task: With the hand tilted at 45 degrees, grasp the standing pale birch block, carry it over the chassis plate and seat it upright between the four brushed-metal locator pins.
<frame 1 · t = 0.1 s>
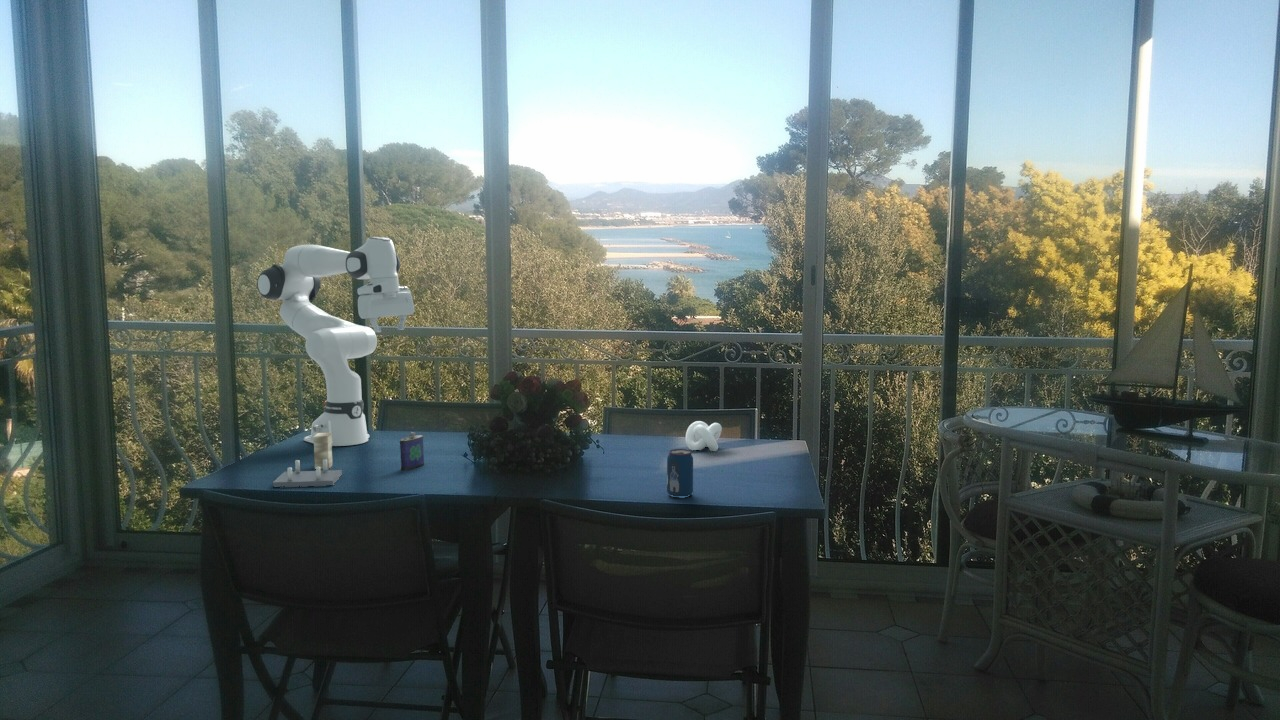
hand: (389, 331, 294), 39 cm above the table, tool pointing down, fingers open, 8 cm apart
soda can: (679, 496, 246), on the table
pretzel: (702, 450, 300), on the table
birch block: (323, 467, 276), on the table
flask: (413, 467, 277), on the table
chassis plate: (308, 481, 260), on the table
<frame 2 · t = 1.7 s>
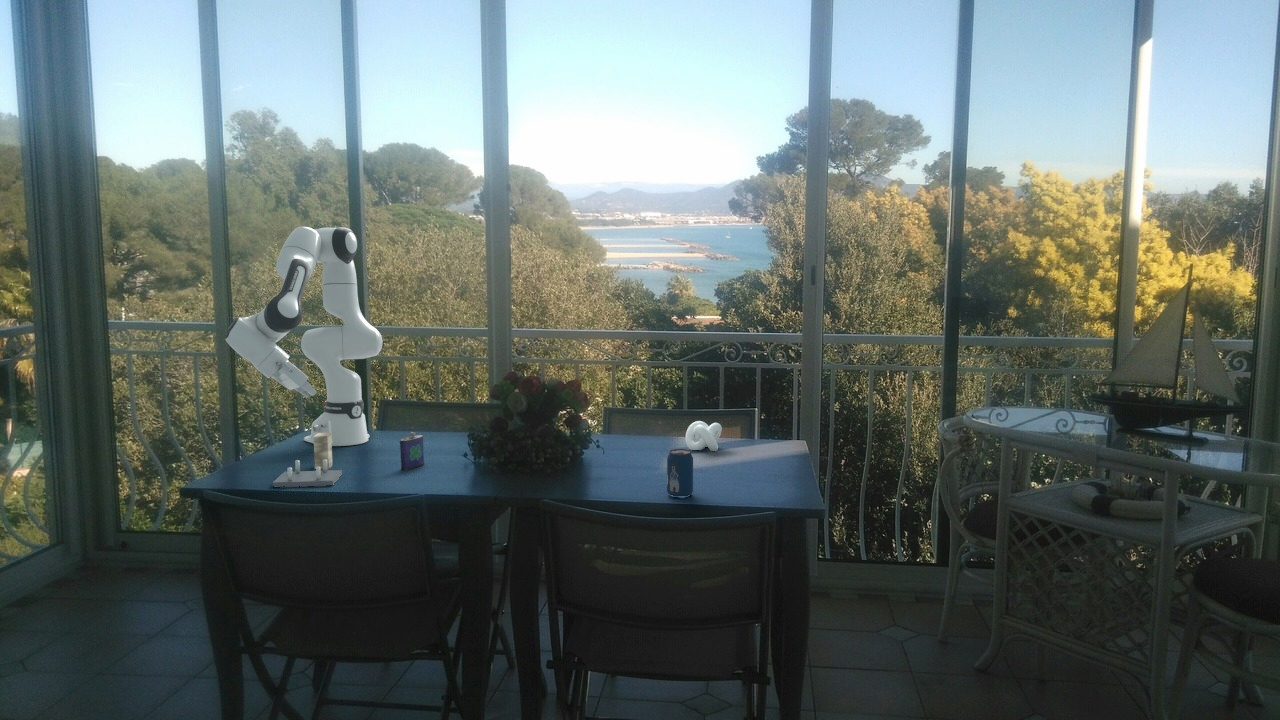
hand: (312, 394, 272), 22 cm above the table, tool tilted 45°, fingers open, 8 cm apart
nothing on the table moved.
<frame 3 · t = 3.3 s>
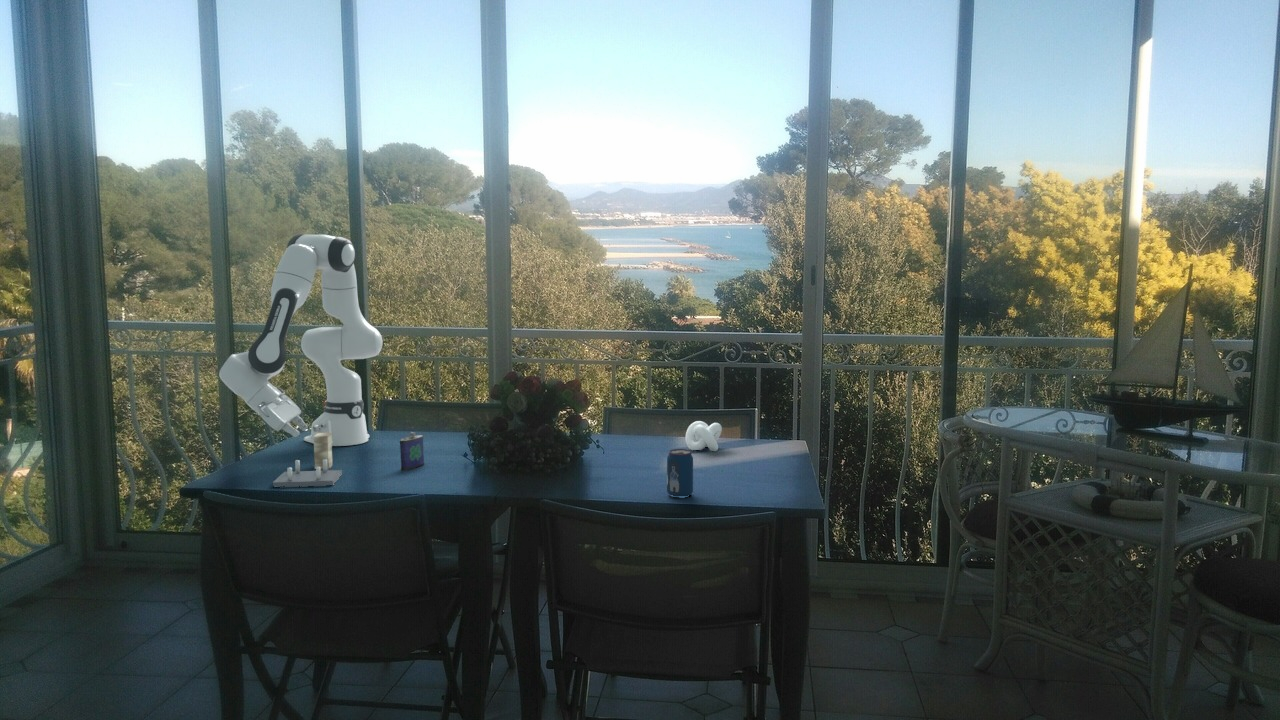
hand: (302, 432, 274), 11 cm above the table, tool tilted 45°, fingers open, 8 cm apart
nothing on the table moved.
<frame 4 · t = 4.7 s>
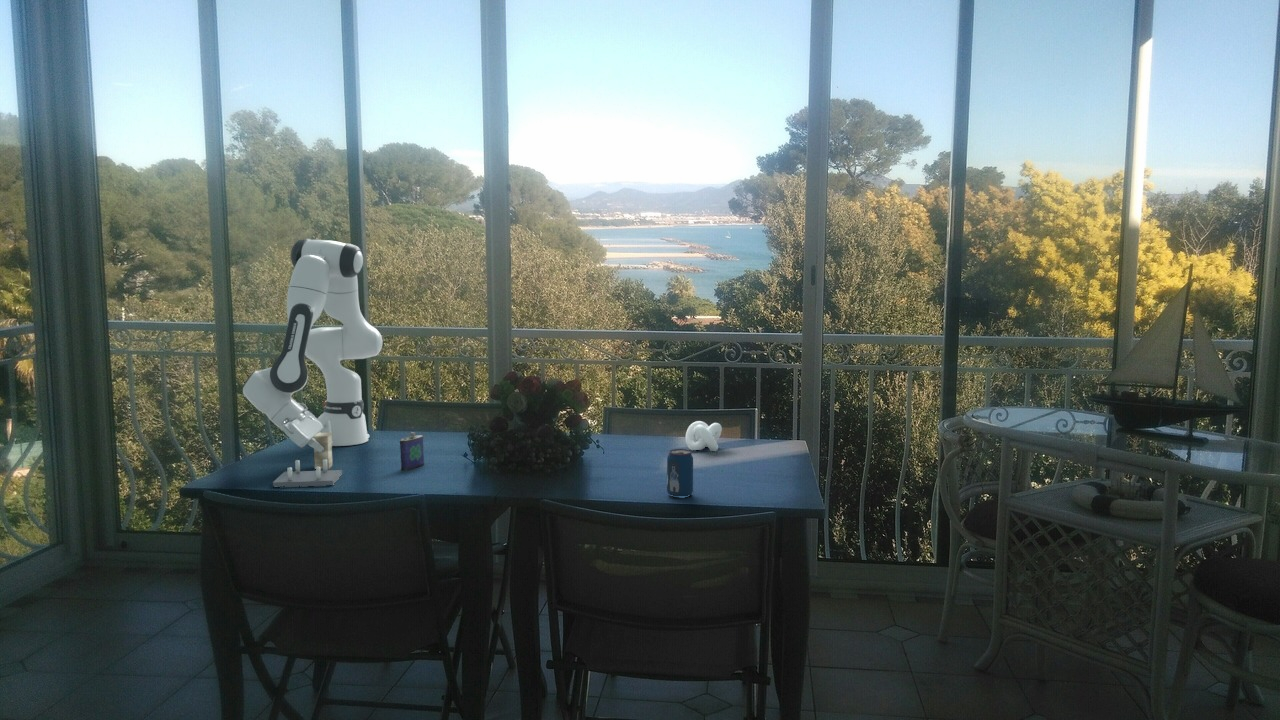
hand: (325, 447, 276), 6 cm above the table, tool tilted 45°, fingers closed on birch block, 5 cm apart
birch block: (323, 467, 276), on the table, touching gripper
everything else where it was.
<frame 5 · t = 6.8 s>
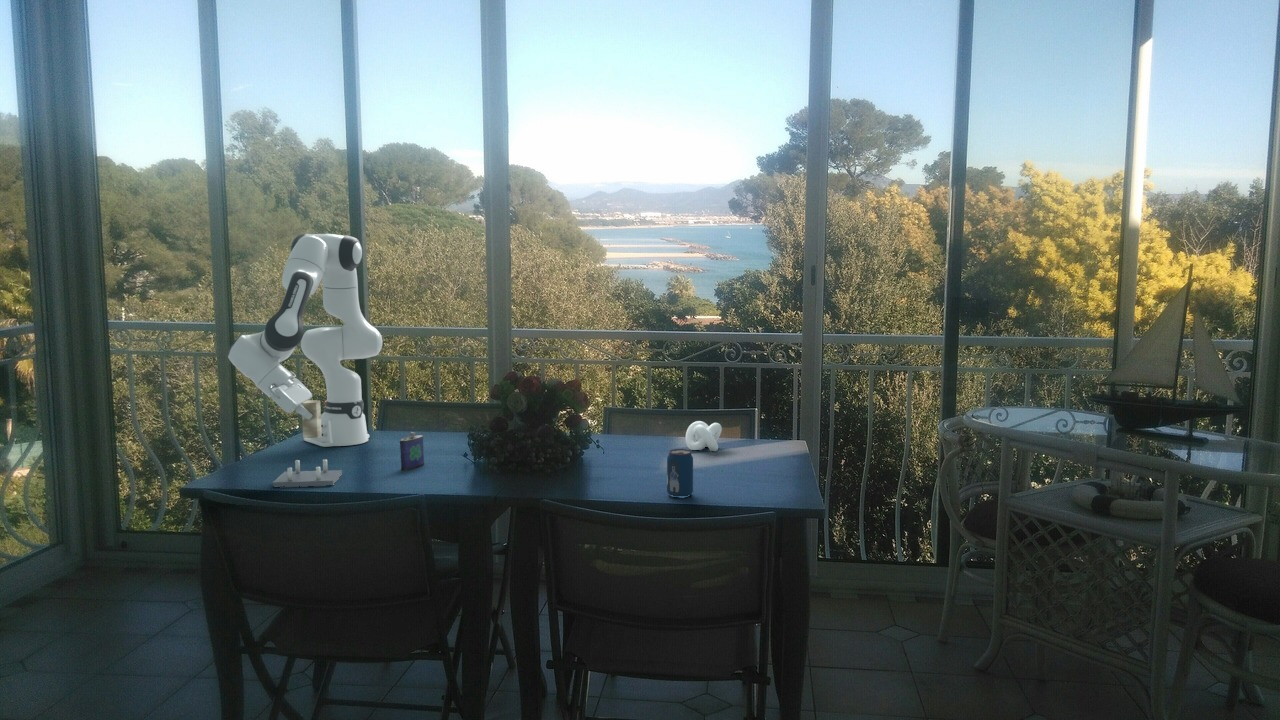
hand: (313, 415, 264), 18 cm above the table, tool tilted 45°, fingers closed on birch block, 5 cm apart
birch block: (312, 436, 265), point 12 cm above the table, touching gripper
everything else where it was.
when the fingers open (9 cm above the table, at t = 9.1 s): birch block drops 1 cm, resting on chassis plate.
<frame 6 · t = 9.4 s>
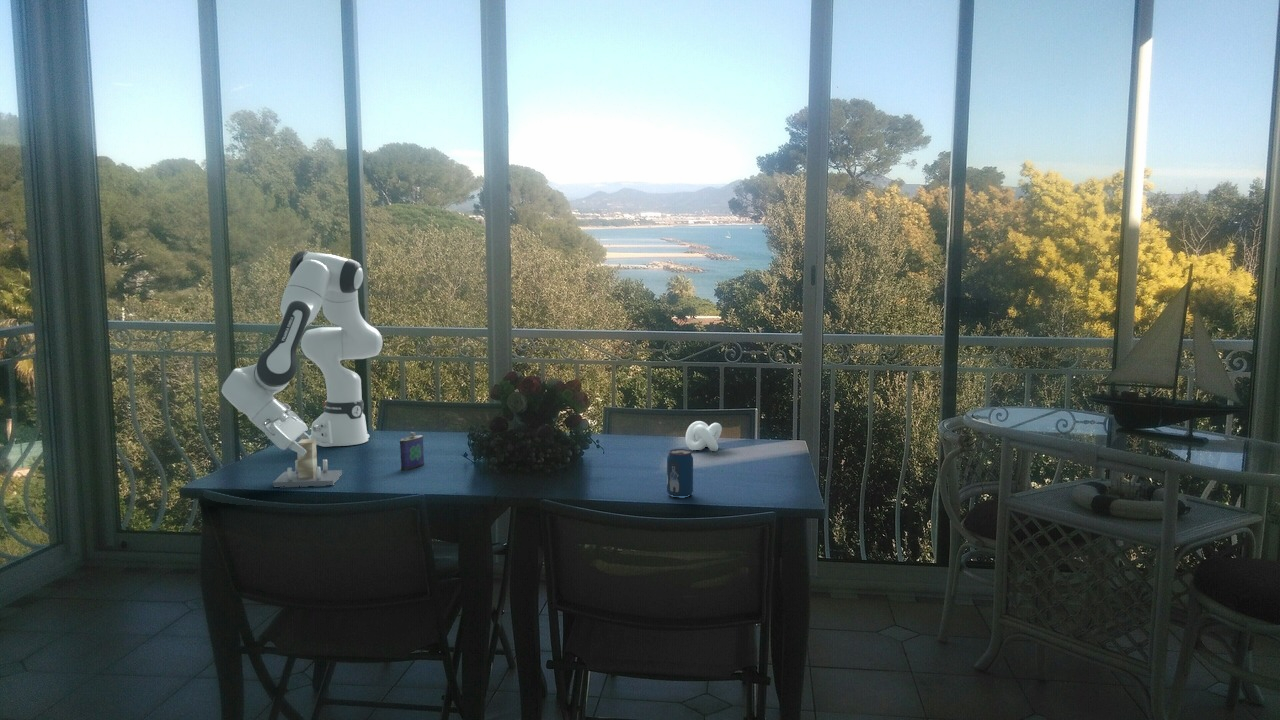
hand: (309, 450, 259), 9 cm above the table, tool tilted 45°, fingers open, 8 cm apart
birch block: (308, 475, 260), point 1 cm above the table, touching chassis plate
everything else where it was.
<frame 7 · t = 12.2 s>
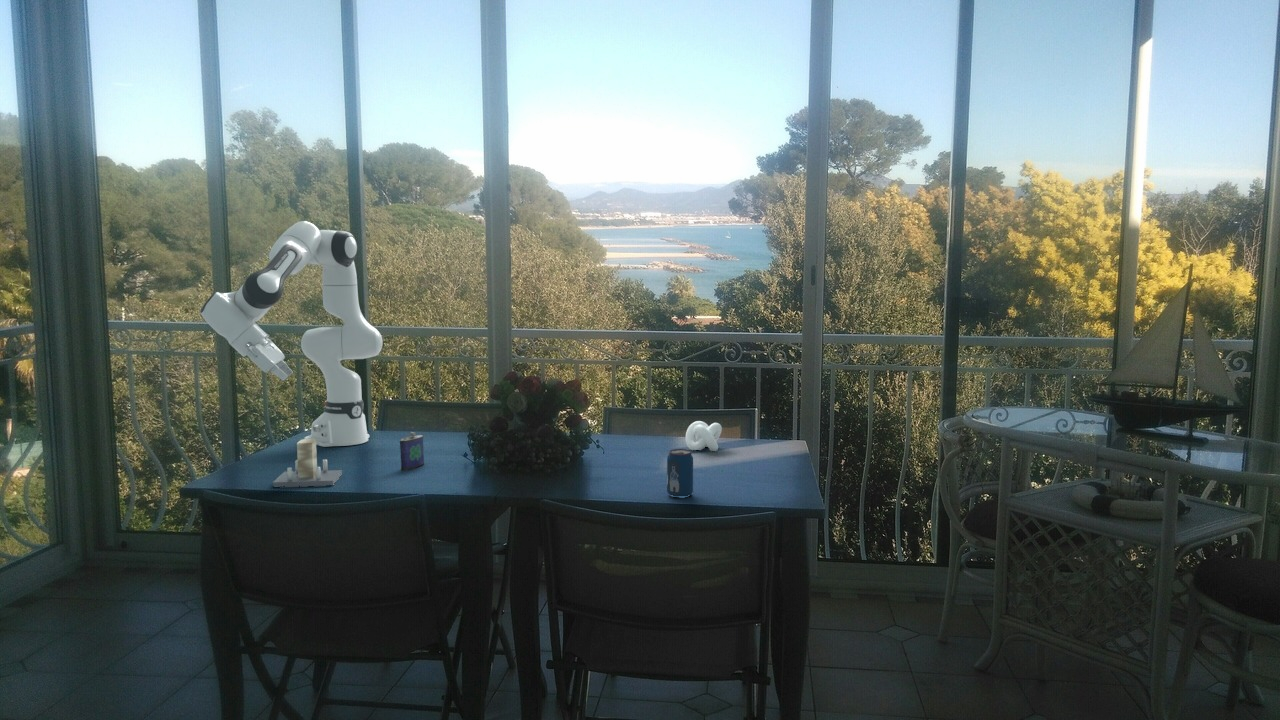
hand: (288, 376, 261), 29 cm above the table, tool tilted 45°, fingers open, 8 cm apart
nothing on the table moved.
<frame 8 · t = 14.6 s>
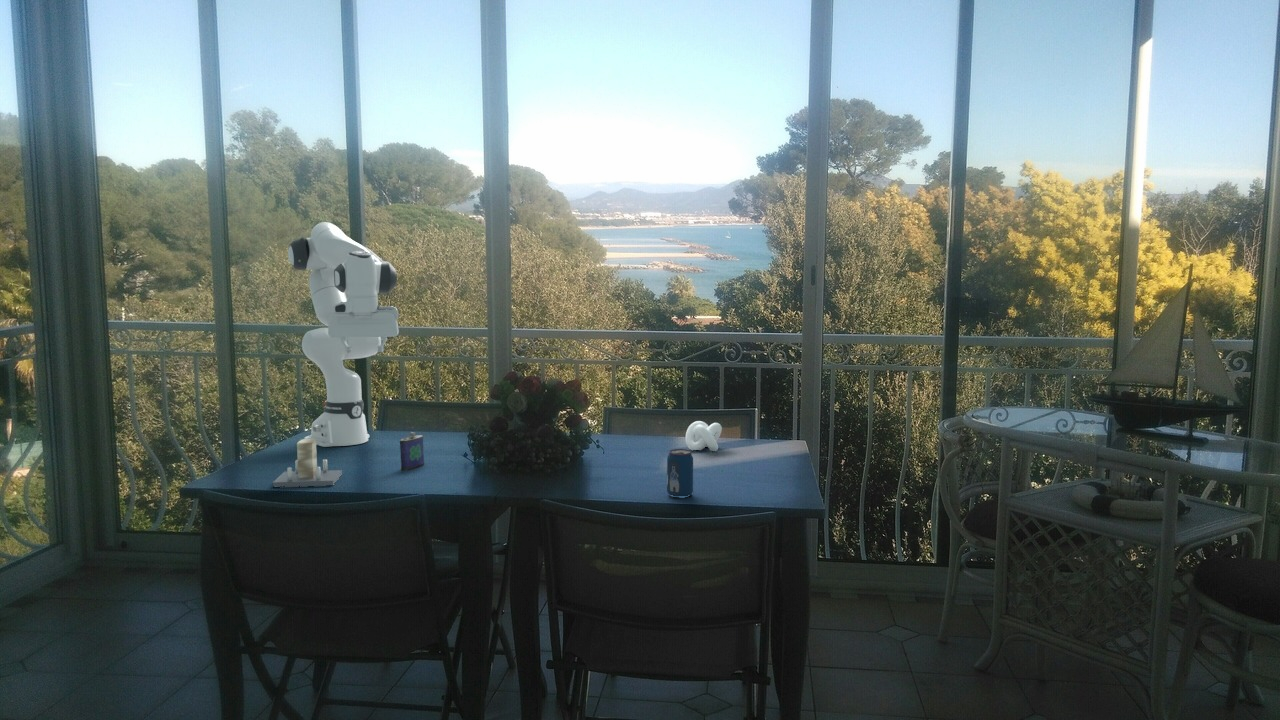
hand: (364, 352, 277), 34 cm above the table, tool pointing down, fingers open, 8 cm apart
nothing on the table moved.
at the end: birch block 0.1 cm off-centre on the chassis plate, point 1.5 cm above the chassis plate's base; birch block tilted 0°; the gripper is holding nothing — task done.
